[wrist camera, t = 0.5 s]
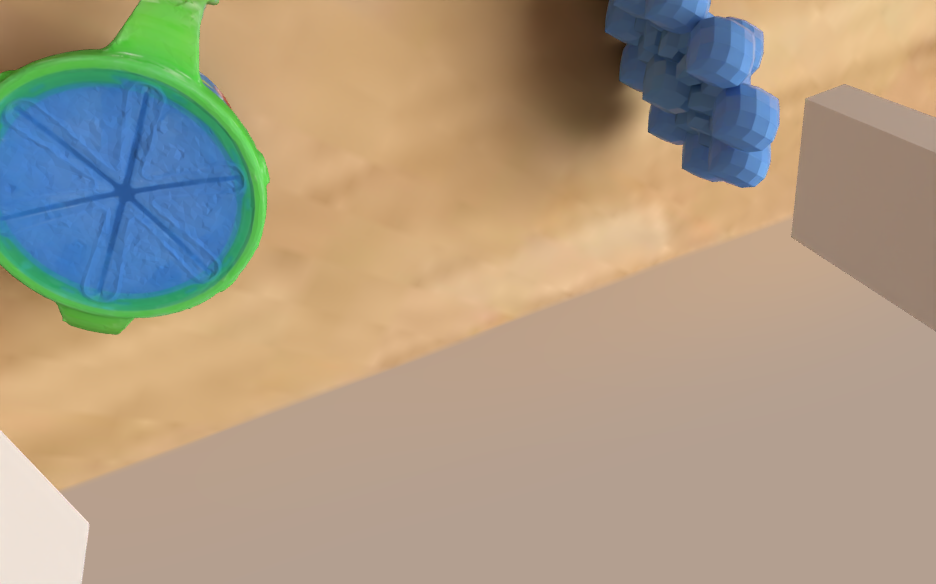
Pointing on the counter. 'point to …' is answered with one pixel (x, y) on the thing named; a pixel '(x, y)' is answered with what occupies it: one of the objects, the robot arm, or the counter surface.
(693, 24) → the grapes
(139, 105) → the snack cup
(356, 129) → the counter surface
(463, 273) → the counter surface
